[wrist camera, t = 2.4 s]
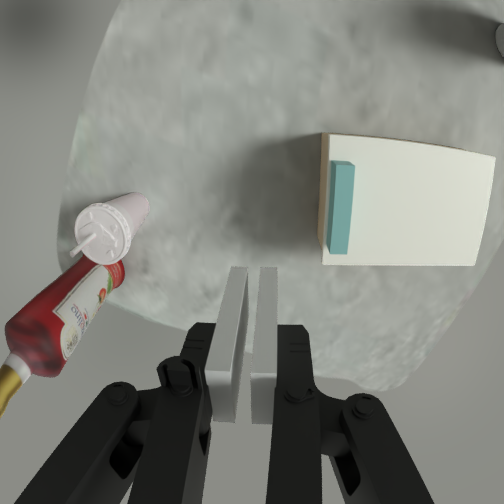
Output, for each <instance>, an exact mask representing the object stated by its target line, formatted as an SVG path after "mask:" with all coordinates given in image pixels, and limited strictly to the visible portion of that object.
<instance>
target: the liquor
mask: <svg viewBox="0 0 504 504" xmlns="http://www.w3.org/2000/svg"><path fill="white" fill-rule="evenodd" d="M124 276H125V271H124V266H123V263H122V261H121V259H120V260H119V261H118V262H116V263H114V264H110V265H102V264H98V263H96V262H94V261H92V260H90V259H89V258H88V257H87V256H86V255H85V254H84V253H83V257H82V258H80V259H79V260H78V261H77V262H76V263H75V264H73V265H72V266H71V267H70V268H69V269H68V270H66V271H65V272H64V273H63V274H62V275H60V276H59V277H58V278H57V279H56V280H55V281H53V282H52V283H51V284H50V285H48V286H47V287H46V288H45V289H43V290H42V291H41V292H40V293H39V294H37V295H36V296H35V297H34V298H33V299H32V300H31V301H30V302H28V303H27V304H26V305H25V306H24V307H23V308H22V309H21V310H20V311H19V312H18V313H17V314H16V315H14V316H13V317H12V318H11V319H10V320H9V321H8V322H7V323H6V325H5V336H6V340H7V344H8V347H9V349H10V351H11V352H10V354H9V356H8V357H7V359H6V360H5V362H4V364H3V365H2V367H1V368H0V418H1V417H2V415H3V413H4V411H5V409H6V407H7V404H8V402H9V400H10V399H11V398H12V396H13V395H14V394H15V393H16V392H17V390H18V389H19V388H20V387H21V386H22V385H23V384H24V382H25V381H26V380H27V379H28V378H29V377H30V375H32V373H33V374H35V375H38V376H43V377H56V376H58V375H59V374H60V372H61V370H62V368H63V367H64V365H65V363H66V362H67V360H68V358H69V357H70V355H71V353H72V352H73V350H74V349H75V347H76V345H77V344H78V342H79V341H80V339H81V337H82V335H83V334H84V332H85V331H86V329H87V327H88V326H89V324H90V322H91V321H92V319H93V317H94V316H95V314H96V313H97V311H98V310H99V308H100V307H101V306H102V304H103V303H104V301H105V300H106V298H107V297H108V296H109V294H110V293H111V291H112V290H113V289H114V288H117V287H119V286H120V285H121V284H122V282H123V280H124Z"/></svg>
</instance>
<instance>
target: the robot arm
mask: <svg viewBox="0 0 504 504" xmlns="http://www.w3.org/2000/svg"><path fill="white" fill-rule="evenodd" d="M248 318H249V301H248V267H231V270H230V273H229V277H228V281H227V285H226V289H225V292H224V296H223V300H222V304H221V308H220V311H219V315H218V319H217V323H199V322H197V323H195V324H194V325H193V326H192V327H191V328H190V329H189V331H188V334H187V336H186V340H185V342H184V345H183V348H182V351H181V353H180V356H174V357H170V358H167V359H165V360H164V361H162V362H161V363H160V364H159V366H158V367H157V372H158V376H159V379H160V382H161V386H160V387H158V388H154V389H150V390H140V391H136V389H135V387H134V386H132V385H131V384H129V383H126V382H114V383H112V384H110V385H107V386H106V387H105V388H104V389H103V390H102V391H101V392H100V394H99V395H98V396H97V397H96V398H95V400H94V401H93V402H92V403H91V405H90V406H89V407H88V408H87V410H86V411H85V412H84V413H83V415H82V416H81V417H80V418H79V420H78V421H77V422H76V423H75V425H74V426H73V427H72V428H71V430H70V431H69V432H68V434H67V435H66V436H65V437H64V439H63V440H62V441H61V442H60V444H59V445H58V446H57V448H56V449H55V450H54V451H53V453H52V454H51V455H50V457H49V458H48V459H47V461H46V462H45V463H44V464H43V466H42V467H41V468H40V470H39V471H38V472H37V474H36V475H35V476H34V478H33V479H32V480H31V481H30V483H29V484H28V485H27V487H26V488H25V489H24V491H23V492H22V493H21V495H20V496H19V498H18V499H17V500H16V502H15V503H14V504H120V502H121V500H122V499H123V497H124V495H125V494H126V492H127V490H128V489H129V487H130V485H131V484H132V482H133V485H132V488H131V492H130V496H129V500H128V503H127V504H202V496H203V489H204V482H205V475H206V468H207V460H208V454H209V447H210V440H211V427H210V422H211V417H212V416H213V421H218V422H232V423H235V417H236V410H237V402H238V394H239V386H240V379H241V371H242V364H243V356H244V348H245V341H246V333H247V325H248ZM251 411H252V424H273V425H272V438H271V450H270V462H269V473H268V484H267V495H266V504H322V467H321V454H324V455H328V456H329V459H330V461H331V464H332V467H333V470H334V473H335V476H336V478H337V481H338V484H339V487H340V490H341V493H342V495H343V498H344V501H345V504H434V502H433V500H432V498H431V496H430V494H429V492H428V490H427V488H426V486H425V484H424V482H423V480H422V478H421V476H420V474H419V472H418V470H417V468H416V466H415V464H414V462H413V460H412V458H411V456H410V454H409V452H408V450H407V448H406V446H405V445H404V443H403V441H402V439H401V437H400V435H399V433H398V431H397V430H396V428H395V426H394V424H393V422H392V420H391V418H390V417H389V414H388V413H387V411H386V409H385V407H384V405H383V404H382V403H381V401H380V400H379V399H378V398H376V397H374V396H373V395H370V394H365V393H360V394H354V395H352V396H349V397H348V398H347V399H346V400H341V399H336V398H332V397H329V396H326V395H325V394H323V393H322V392H320V391H319V390H318V389H317V387H316V385H315V383H314V377H313V367H312V358H311V349H310V340H309V333H308V332H307V330H306V329H305V328H304V326H303V325H277V267H261V269H260V280H259V291H258V301H257V312H256V322H255V333H254V343H253V353H252V364H251ZM133 480H134V481H133Z"/></svg>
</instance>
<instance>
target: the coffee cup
mask: <svg viewBox="0 0 504 504" xmlns="http://www.w3.org/2000/svg"><path fill="white" fill-rule="evenodd" d="M495 39H496V44H497V47H498V50H499V52H500V53H501V55H502V57H503V58H504V23H503V24H501V25H500V26H499V27H498V29H497V30H496V34H495Z"/></svg>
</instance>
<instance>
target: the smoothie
mask: <svg viewBox="0 0 504 504" xmlns="http://www.w3.org/2000/svg"><path fill="white" fill-rule="evenodd" d="M148 213H149V203H148V200H147V199H146V198H145V196H143V195H142V194H140V193H137V192H133V193H130V194H127V195H124V196H121V197H118V198H116V199H113V200H110V201H107V202H105V203H94V204H91V205H89V206H87V207H86V208H85V209H84V210H82V211H81V212H80V214H79V215H78V216H77V218H76V221H75V226H74V233H75V238H76V241H77V244H78V245H77V246H76V247H75V248H74V249H73V250H71V251H70V256H72V257H74V256H75V255H76V254H77V253H78V252H79V251H82V252H83V253H84V254H85V255H86V256H87V257H88V258H89V259H90V260H92V261H94V262H96V263H98V264H102V265H110V264H114V263H116V262H118V261H119V260H120V259H121V258H123V257H124V256H125V255H126V253H127V252H128V250H129V248H130V244H131V240H132V238H133V237H134V235H135V234H136V232H137V231H138V229H139V227H140V226H141V224H142V223H143V221H144V220H145V218H146V217H147V215H148Z"/></svg>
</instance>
